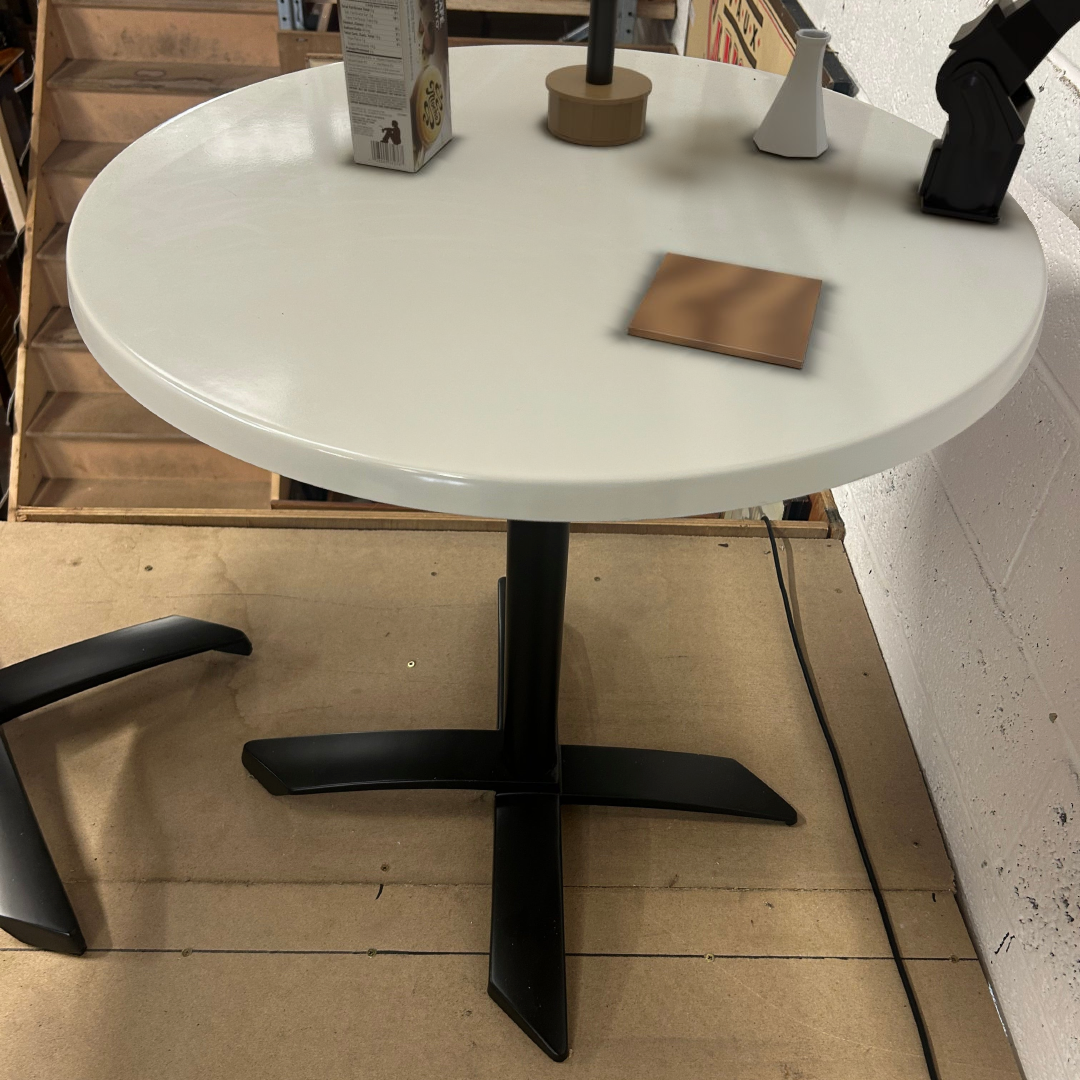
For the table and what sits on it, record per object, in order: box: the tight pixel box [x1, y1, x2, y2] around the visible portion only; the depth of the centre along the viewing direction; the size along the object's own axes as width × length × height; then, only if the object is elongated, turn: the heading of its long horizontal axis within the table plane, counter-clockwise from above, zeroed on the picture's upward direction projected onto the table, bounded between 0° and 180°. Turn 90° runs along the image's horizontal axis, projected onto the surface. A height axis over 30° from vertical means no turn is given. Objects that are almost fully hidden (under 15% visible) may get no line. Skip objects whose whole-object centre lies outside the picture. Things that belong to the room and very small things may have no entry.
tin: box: [547, 91, 649, 147], centre depth 90 cm, size 10×10×4 cm
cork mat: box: [627, 252, 823, 369], centre depth 66 cm, size 12×12×1 cm
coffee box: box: [336, 0, 453, 173], centre depth 80 cm, size 9×6×16 cm
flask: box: [753, 28, 832, 158], centre depth 86 cm, size 7×7×10 cm
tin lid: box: [544, 0, 653, 105], centre depth 86 cm, size 10×10×9 cm
